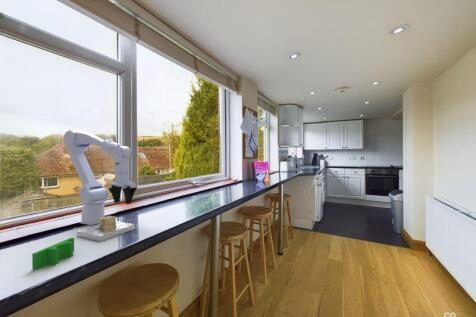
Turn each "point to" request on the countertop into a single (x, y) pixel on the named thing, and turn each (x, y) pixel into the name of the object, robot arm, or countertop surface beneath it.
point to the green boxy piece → (53, 254)
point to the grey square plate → (102, 235)
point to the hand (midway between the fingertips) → (122, 203)
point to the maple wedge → (107, 222)
